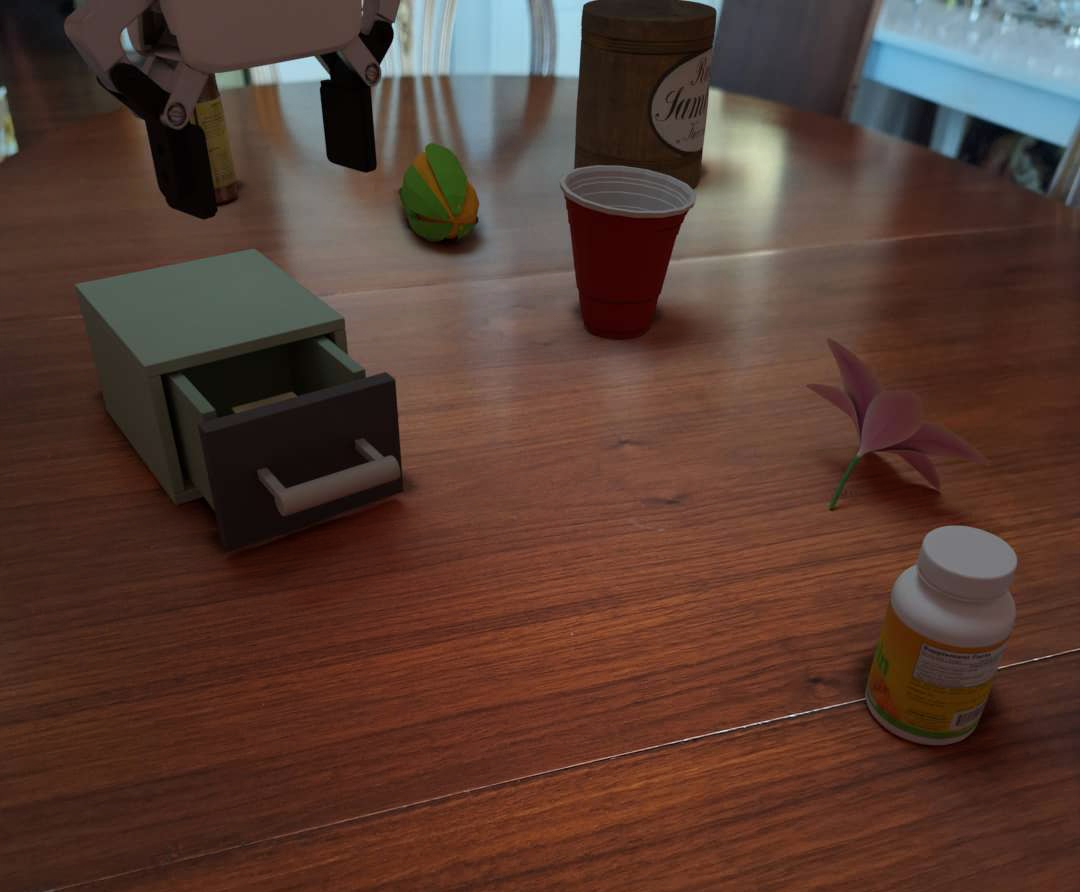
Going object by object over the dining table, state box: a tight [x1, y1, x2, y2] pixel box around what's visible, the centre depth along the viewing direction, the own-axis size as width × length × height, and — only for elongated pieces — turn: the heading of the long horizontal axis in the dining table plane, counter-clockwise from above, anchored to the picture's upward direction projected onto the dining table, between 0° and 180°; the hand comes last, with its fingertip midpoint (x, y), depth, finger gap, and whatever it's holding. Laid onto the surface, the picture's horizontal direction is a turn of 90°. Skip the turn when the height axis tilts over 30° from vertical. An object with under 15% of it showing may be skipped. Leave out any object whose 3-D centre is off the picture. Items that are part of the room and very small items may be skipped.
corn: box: [398, 142, 480, 243], centre depth 106 cm, size 7×8×20 cm
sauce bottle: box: [190, 73, 238, 205], centre depth 108 cm, size 7×6×20 cm
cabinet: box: [74, 248, 349, 506], centre depth 70 cm, size 15×13×10 cm
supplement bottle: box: [864, 525, 1018, 746], centre depth 48 cm, size 5×5×10 cm
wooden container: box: [573, 0, 718, 189], centre depth 116 cm, size 15×15×22 cm
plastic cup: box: [559, 165, 698, 340], centre depth 84 cm, size 11×11×12 cm
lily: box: [805, 337, 992, 510], centre depth 65 cm, size 12×12×10 cm
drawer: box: [160, 334, 404, 552], centre depth 63 cm, size 18×11×8 cm, turn 35°
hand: (277, 188), depth 51 cm, fingers open, 9 cm apart
